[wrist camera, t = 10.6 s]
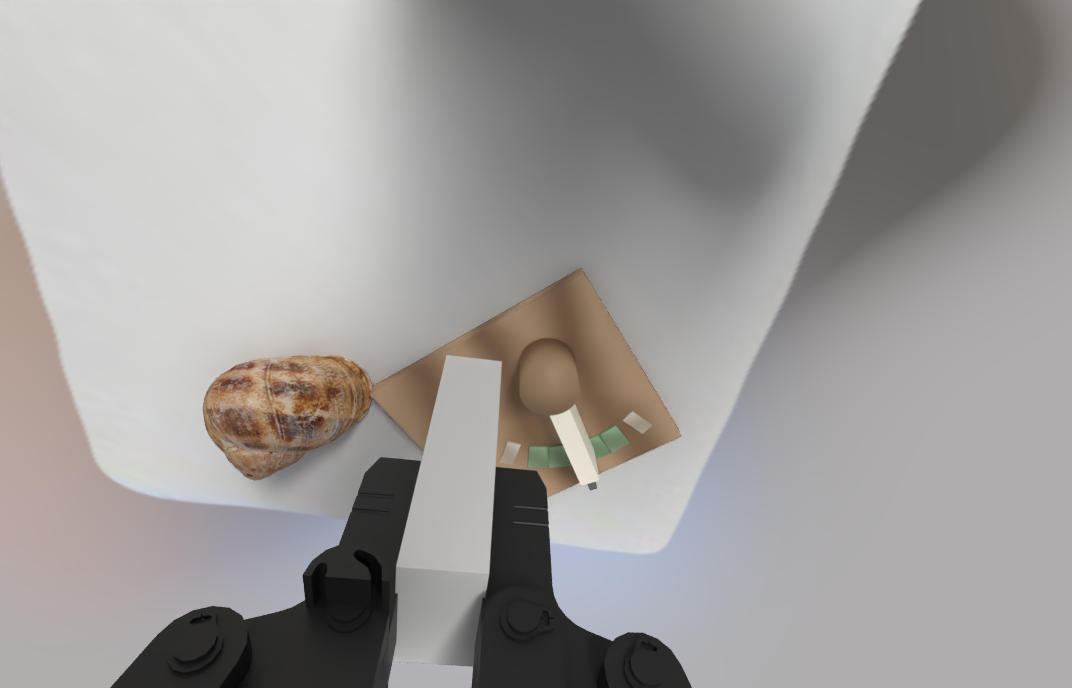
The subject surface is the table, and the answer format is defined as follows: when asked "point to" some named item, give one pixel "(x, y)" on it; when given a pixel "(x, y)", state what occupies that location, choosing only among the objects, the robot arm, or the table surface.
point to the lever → (558, 400)
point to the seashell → (283, 409)
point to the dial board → (523, 436)
